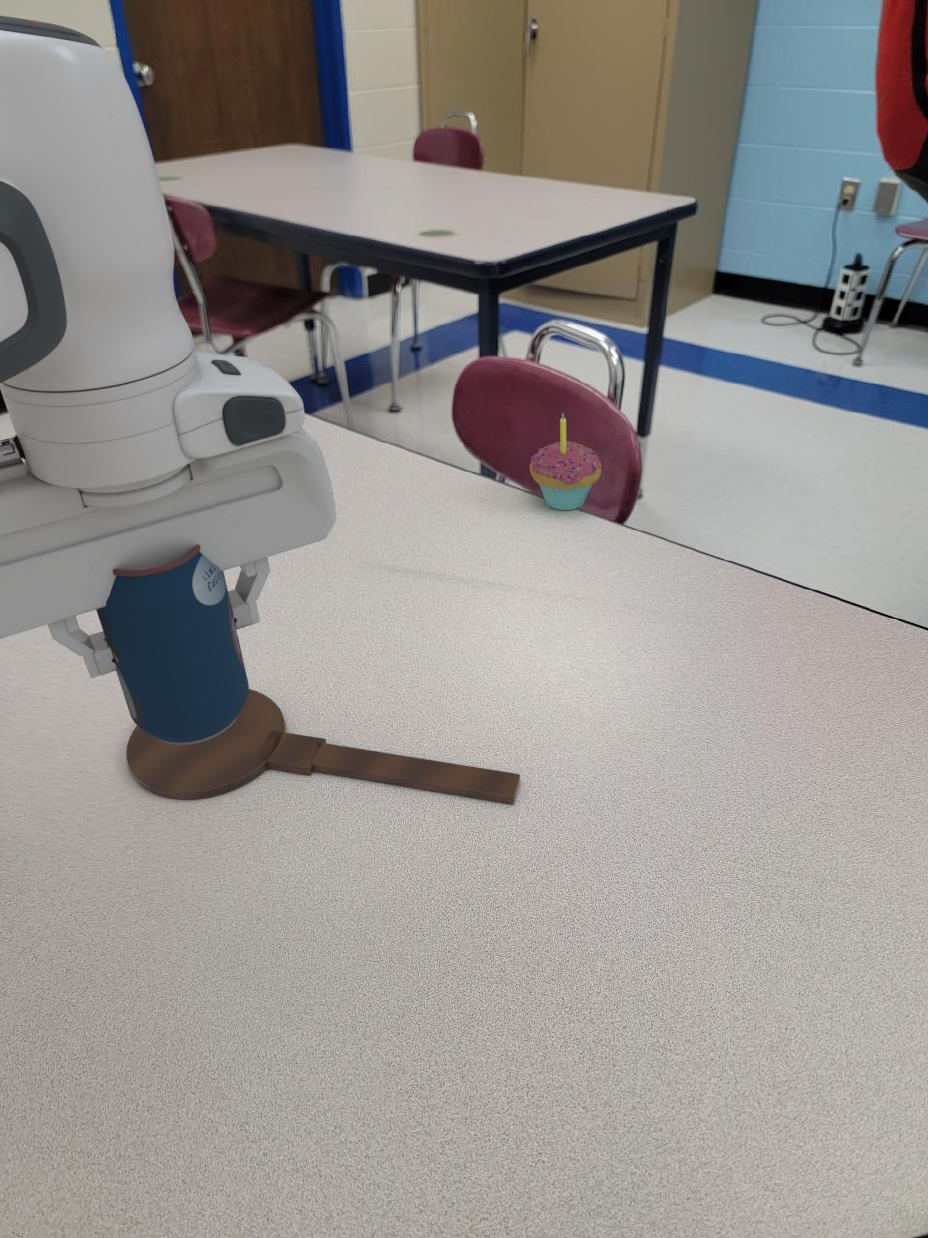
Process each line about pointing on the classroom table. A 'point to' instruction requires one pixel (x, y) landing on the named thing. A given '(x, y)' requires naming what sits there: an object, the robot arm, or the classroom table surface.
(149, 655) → the soda can
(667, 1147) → the classroom table surface
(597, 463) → the cupcake
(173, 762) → the serving spoon
